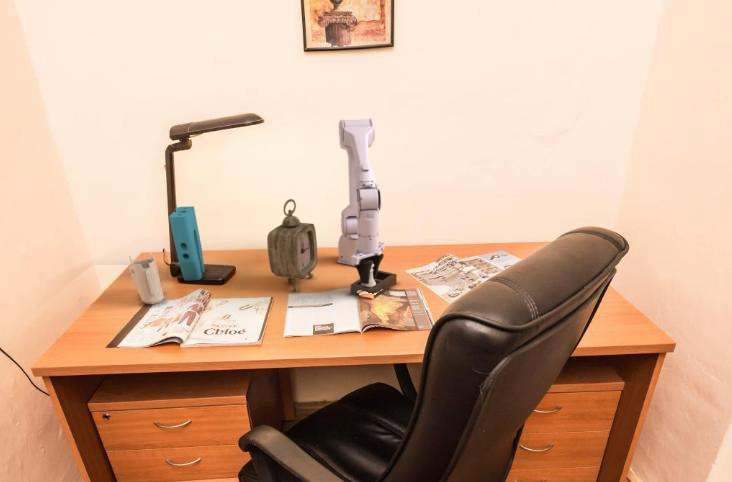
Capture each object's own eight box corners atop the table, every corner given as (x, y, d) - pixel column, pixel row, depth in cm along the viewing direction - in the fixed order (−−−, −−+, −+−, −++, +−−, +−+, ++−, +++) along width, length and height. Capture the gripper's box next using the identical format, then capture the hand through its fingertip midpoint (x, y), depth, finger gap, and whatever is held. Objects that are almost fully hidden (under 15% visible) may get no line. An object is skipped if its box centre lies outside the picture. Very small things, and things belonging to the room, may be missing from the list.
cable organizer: (159, 288, 144) (150, 250, 138) (167, 304, 135) (157, 263, 129) (135, 293, 141) (125, 254, 135) (141, 309, 132) (130, 267, 126)
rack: (372, 299, 136) (372, 289, 134) (350, 294, 139) (350, 284, 138) (396, 283, 145) (396, 274, 144) (375, 278, 149) (375, 269, 147)
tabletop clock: (298, 295, 139) (290, 207, 127) (270, 291, 142) (260, 204, 129) (318, 276, 151) (313, 194, 138) (292, 273, 153) (285, 192, 141)
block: (190, 268, 158) (177, 206, 148) (206, 267, 159) (194, 206, 149) (182, 282, 148) (168, 217, 138) (199, 281, 148) (186, 216, 138)
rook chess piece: (363, 292, 137) (362, 265, 133) (359, 286, 141) (358, 260, 137) (378, 290, 138) (378, 263, 134) (373, 284, 142) (373, 258, 138)
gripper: (366, 243, 124) (366, 292, 131) (394, 229, 135) (393, 275, 142) (343, 239, 128) (345, 287, 134) (372, 225, 138) (372, 270, 145)
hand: (368, 280), depth 138 cm, fingers closed on rook chess piece, 3 cm apart
